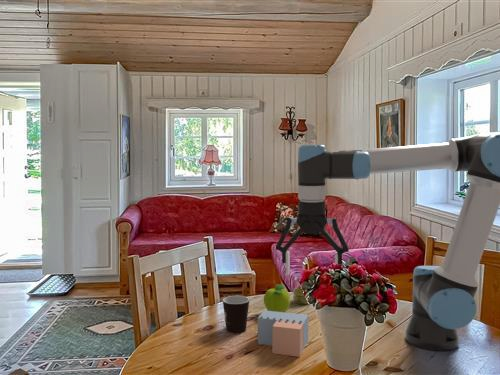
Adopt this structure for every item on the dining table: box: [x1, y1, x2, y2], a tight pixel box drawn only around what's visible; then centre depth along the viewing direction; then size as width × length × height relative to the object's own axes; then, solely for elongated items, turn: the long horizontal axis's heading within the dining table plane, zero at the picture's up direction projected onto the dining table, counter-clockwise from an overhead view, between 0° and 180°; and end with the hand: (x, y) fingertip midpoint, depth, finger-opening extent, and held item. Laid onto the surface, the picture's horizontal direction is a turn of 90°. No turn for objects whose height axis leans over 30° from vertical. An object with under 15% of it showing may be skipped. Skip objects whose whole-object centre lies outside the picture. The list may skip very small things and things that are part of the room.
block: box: [272, 320, 304, 358], centre depth 141 cm, size 8×5×8 cm, turn 72°
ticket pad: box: [257, 309, 309, 351], centre depth 148 cm, size 14×7×8 cm, turn 72°
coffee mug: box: [222, 295, 250, 335], centre depth 159 cm, size 12×9×10 cm
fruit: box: [263, 283, 291, 313], centre depth 172 cm, size 9×9×10 cm
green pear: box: [292, 276, 309, 306], centre depth 186 cm, size 7×7×10 cm
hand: (311, 275), depth 137 cm, fingers open, 13 cm apart
